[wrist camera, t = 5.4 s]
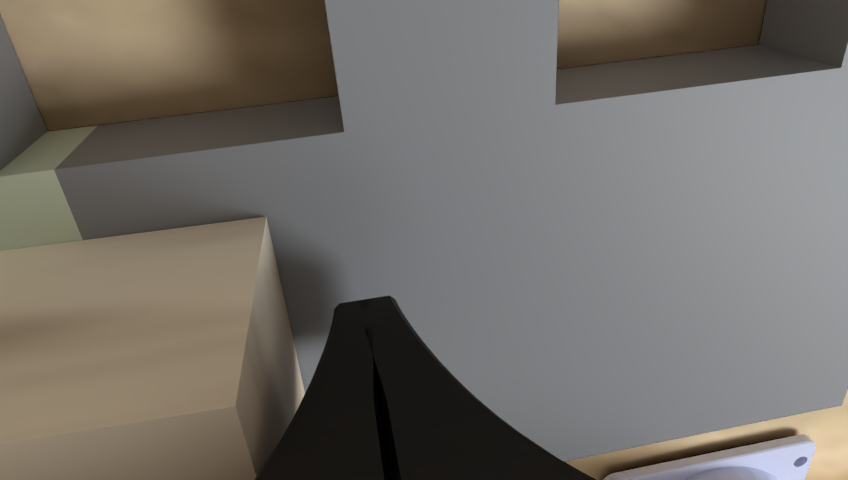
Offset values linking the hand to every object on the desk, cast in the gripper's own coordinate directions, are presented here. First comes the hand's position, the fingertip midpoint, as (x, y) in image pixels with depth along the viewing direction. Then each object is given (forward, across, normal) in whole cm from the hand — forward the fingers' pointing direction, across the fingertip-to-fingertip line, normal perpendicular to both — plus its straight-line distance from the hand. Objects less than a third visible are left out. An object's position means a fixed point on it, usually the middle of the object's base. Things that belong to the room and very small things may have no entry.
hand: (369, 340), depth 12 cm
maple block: (+1, +4, 0) cm, 4 cm away
